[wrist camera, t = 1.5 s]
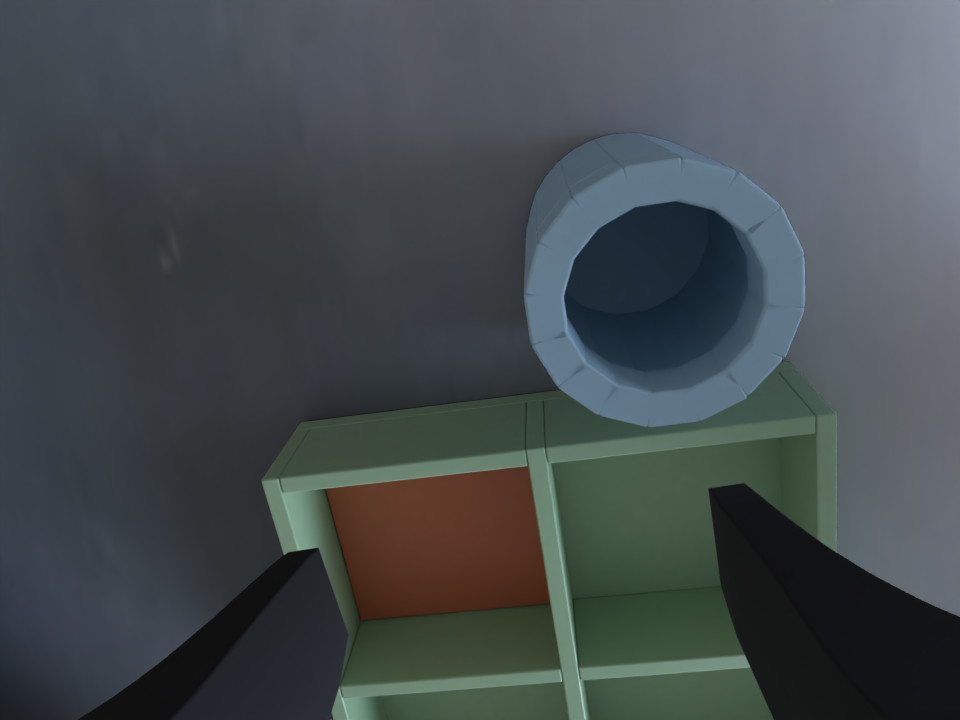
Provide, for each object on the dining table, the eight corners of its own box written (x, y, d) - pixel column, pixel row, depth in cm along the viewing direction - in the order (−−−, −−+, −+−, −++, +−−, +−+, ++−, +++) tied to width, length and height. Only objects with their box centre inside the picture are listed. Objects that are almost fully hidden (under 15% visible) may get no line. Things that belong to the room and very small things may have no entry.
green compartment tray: (789, 360, 21) (837, 413, 18) (798, 744, 26) (836, 842, 23) (300, 421, 23) (259, 480, 20) (395, 770, 28) (376, 864, 25)
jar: (711, 118, 19) (805, 137, 12) (721, 306, 21) (808, 410, 14) (515, 150, 20) (506, 184, 13) (541, 330, 21) (544, 440, 15)
